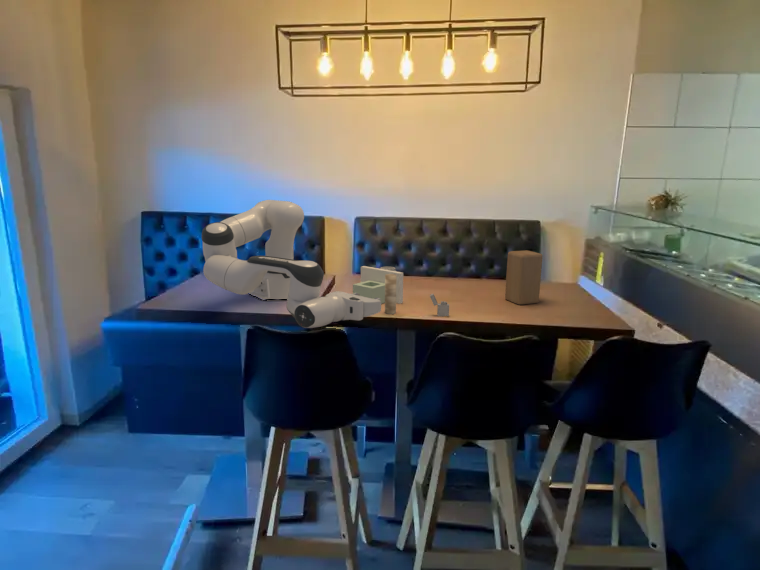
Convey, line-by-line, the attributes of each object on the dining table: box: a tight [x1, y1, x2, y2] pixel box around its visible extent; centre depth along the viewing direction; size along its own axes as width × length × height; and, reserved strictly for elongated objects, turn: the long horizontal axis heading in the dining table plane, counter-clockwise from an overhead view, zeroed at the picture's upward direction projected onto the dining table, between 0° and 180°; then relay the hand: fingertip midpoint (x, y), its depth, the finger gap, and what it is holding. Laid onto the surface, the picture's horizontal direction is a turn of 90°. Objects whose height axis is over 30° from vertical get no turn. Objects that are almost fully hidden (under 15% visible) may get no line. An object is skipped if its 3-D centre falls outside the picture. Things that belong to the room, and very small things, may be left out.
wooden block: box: [504, 249, 544, 306], centre depth 204 cm, size 10×10×20 cm
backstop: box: [360, 265, 404, 304], centre depth 195 cm, size 20×21×13 cm
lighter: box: [429, 293, 450, 317], centre depth 185 cm, size 7×2×8 cm, turn 81°
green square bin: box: [352, 280, 385, 305], centre depth 198 cm, size 10×10×7 cm
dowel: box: [384, 274, 397, 315], centre depth 183 cm, size 4×4×15 cm
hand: (368, 297), depth 173 cm, fingers open, 8 cm apart
